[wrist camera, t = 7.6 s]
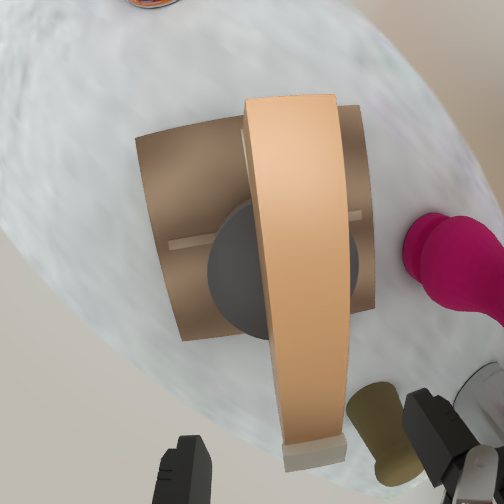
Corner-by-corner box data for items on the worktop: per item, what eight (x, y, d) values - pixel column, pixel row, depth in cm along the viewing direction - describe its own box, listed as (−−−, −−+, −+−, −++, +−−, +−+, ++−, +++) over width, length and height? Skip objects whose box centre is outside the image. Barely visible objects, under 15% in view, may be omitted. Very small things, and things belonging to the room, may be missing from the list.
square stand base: (369, 302, 24) (412, 353, 17) (184, 333, 25) (166, 397, 17) (353, 107, 20) (406, 85, 12) (140, 139, 20) (91, 129, 12)
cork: (367, 377, 27) (410, 457, 16) (405, 386, 28) (449, 455, 17) (335, 416, 28) (362, 496, 18) (374, 422, 29) (406, 492, 19)
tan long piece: (334, 125, 13) (426, 94, 5) (343, 351, 16) (393, 451, 9) (192, 140, 13) (138, 113, 5) (231, 368, 16) (230, 482, 9)
